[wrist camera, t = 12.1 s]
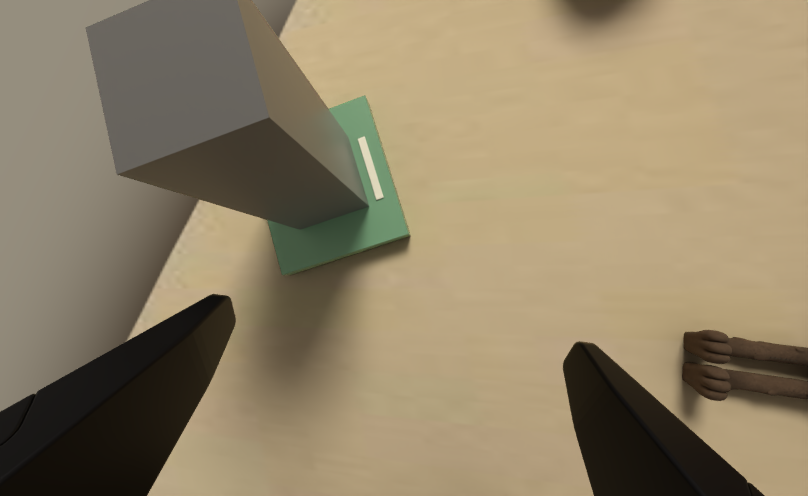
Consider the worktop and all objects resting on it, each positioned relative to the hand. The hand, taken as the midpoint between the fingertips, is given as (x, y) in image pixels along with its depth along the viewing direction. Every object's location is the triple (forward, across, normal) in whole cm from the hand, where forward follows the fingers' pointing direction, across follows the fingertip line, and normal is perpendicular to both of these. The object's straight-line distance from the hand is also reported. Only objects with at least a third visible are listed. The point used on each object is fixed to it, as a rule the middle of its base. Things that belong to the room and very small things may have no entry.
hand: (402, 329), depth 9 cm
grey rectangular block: (+15, +6, +3) cm, 16 cm away
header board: (+16, +6, +4) cm, 17 cm away
